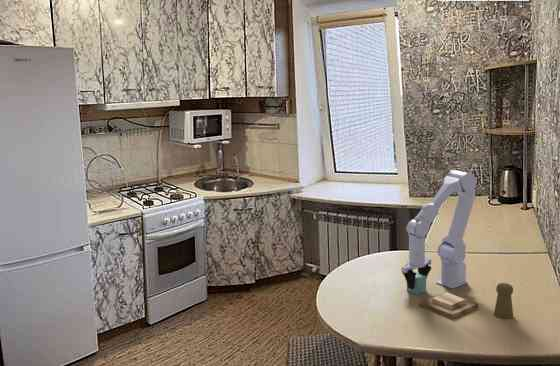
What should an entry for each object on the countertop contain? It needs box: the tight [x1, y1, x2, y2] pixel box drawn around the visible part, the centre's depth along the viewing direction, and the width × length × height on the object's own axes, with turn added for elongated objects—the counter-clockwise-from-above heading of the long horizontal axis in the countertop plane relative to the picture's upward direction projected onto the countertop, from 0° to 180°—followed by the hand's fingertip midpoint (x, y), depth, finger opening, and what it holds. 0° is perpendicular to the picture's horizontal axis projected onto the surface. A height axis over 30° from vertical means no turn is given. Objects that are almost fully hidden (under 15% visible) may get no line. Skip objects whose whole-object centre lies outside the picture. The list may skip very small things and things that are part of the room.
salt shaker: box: [493, 282, 514, 320], centre depth 180 cm, size 6×6×11 cm
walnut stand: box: [419, 291, 479, 320], centre depth 189 cm, size 14×14×3 cm
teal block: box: [406, 271, 427, 295], centre depth 204 cm, size 5×5×6 cm
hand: (416, 286), depth 204 cm, fingers open, 6 cm apart
